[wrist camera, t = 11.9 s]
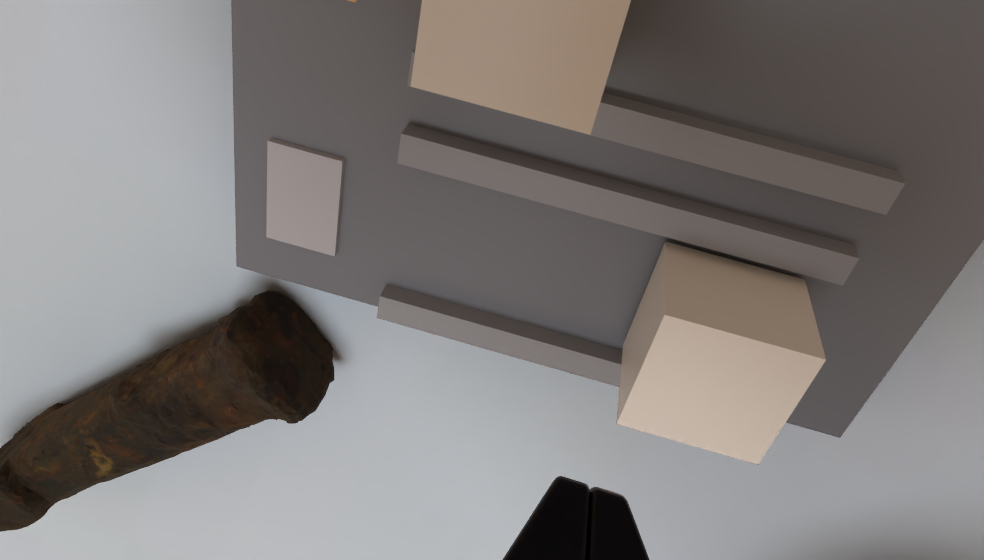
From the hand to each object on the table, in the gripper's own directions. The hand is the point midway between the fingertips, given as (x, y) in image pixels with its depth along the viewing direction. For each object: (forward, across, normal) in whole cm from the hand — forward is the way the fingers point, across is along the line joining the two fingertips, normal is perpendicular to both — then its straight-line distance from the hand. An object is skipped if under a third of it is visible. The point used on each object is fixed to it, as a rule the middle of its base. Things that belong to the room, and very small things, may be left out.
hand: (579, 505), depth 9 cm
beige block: (+10, +3, -3) cm, 11 cm away
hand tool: (+12, +14, +16) cm, 25 cm away
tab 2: (+10, -3, +4) cm, 11 cm away
